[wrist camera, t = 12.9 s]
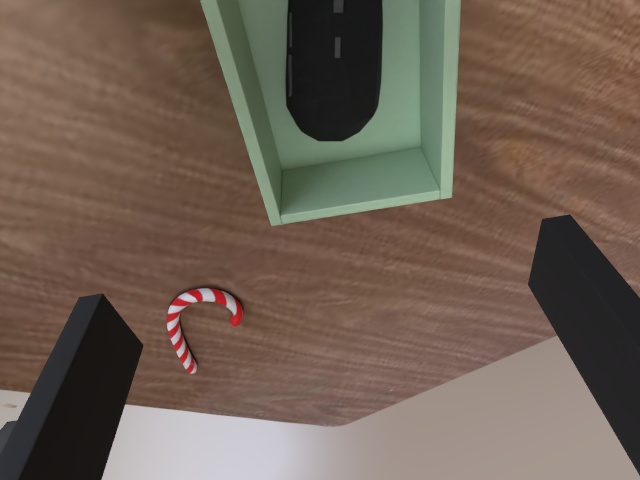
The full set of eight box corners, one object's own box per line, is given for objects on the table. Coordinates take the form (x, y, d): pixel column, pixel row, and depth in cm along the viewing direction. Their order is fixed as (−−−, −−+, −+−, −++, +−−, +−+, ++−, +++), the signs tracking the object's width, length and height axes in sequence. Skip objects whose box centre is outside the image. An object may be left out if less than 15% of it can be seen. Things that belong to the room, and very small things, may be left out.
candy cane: (163, 372, 50) (167, 289, 41) (165, 363, 51) (170, 279, 42) (228, 379, 52) (247, 301, 42) (229, 369, 53) (248, 291, 43)
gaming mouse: (398, -124, 22) (414, -124, 19) (371, 135, 32) (378, 162, 29) (278, -127, 22) (275, -127, 19) (287, 135, 32) (286, 162, 29)
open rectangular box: (275, 176, 35) (271, 226, 30) (178, -168, 21) (141, -182, 16) (429, 150, 34) (452, 197, 29) (430, -228, 20) (473, -263, 15)
